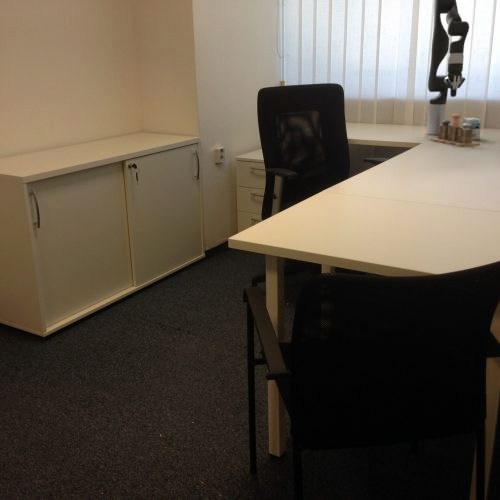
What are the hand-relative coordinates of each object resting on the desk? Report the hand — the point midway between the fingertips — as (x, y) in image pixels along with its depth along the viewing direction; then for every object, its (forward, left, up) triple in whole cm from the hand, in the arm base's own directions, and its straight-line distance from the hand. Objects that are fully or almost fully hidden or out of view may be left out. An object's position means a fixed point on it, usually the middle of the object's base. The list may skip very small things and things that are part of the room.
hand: (453, 96), depth 309 cm
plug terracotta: (+4, 0, -18) cm, 19 cm away
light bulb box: (-3, +17, -24) cm, 30 cm away
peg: (-4, 0, -22) cm, 23 cm away
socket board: (+4, 0, -24) cm, 24 cm away
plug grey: (+12, 0, -22) cm, 25 cm away
